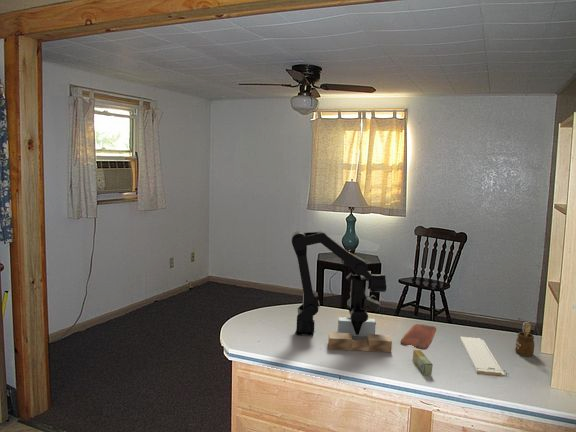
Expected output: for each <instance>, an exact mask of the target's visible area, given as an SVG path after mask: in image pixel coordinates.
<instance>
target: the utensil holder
mask: <svg viewBox="0 0 576 432" xmlns="http://www.w3.org/2000/svg"><path fill="white" fill-rule="evenodd" d="M531 326H532V324H530V322H528V321H524V322H523V324H522V331H519V332H518V333H517V338H516V340H515V347H514V348H515V349H514V350H515V353H516V354H517V355H519V356H523V357H533V355H534V351H535V340H534V339H535V336H534V334H532V333H531V328H532V327H531Z"/></svg>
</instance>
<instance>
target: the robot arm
mask: <svg viewBox="0 0 576 432" xmlns="http://www.w3.org/2000/svg"><path fill="white" fill-rule="evenodd" d="M316 244H317V245H318V244H321V245H323V246H324V247H325V248H327V249H328V250H329V251H331V252H332V253H333V254H334V255H335V256H337V257H338V258H340V260H342V261H343V262H344V263H345V264H346V265H347V266H348V268H350V270H351V271H352V272H353V273H354V274H353V273H352V272H350V273H349V274H348V275H346V276H345V278H346V280H347V281H350V291H349V296H350V297H349V299H347V308H348V309H347V310H348V313H349V315H350V317H349V318H351V322H352V325H353V328H354V331H355V334H356V335H359V332H360V329H361V326H362V323H363V322H365V321H367V320H368V319H369V314H368V312H367V311H366V310H367V309H369V310H371V311H373V312H375V313H378V312H379V308H380V306H381V302H380V301H378V300H377V297H376V296H375V295H373V294H372V295H370V296H367V293H366V291H367V290H369V292H370V293H386V292H387V280H386V275H385V274H384V273H380V274H376V273H375V274H373V273H371V271H370V270H369V265H368V263H367V262H366V261H365V259H363V258H362V257H360V256H357V255H355V254H353V253H352V252H351V251H350V252H349V250H346V249H345V248H344V247H343V246H341V244H339V243H338V242H336V241H335V240H334V239H332V237H330V236H329V235H327V233H326V232H325V231H323V230H322V231H321V230H320V231H319V230H318V231H313V232H311V231H307V232H303V231H301V230H298V231H295V232H294V233H292V235H291V245H292V247H293V250H294V252H295V255H296V257H297V264H298V268H299V269H298V270H299V273H300V279H301V280H300V281H301V286H302V304H301V305H299V306H298V307H297V315H296V327H295V328H296V329H295V335H296V336H297V335H298V336H313V335H314V333H315V321H316V320H314V316H316V315H317V313H318V312H319V308H320V307H321V305H320V300H319V294H318V291H315V292H314V290H313V285H312V280H311V273H310V268H309V262H308V258H307V254H308V252H307V251H308V246H312V245H316Z"/></svg>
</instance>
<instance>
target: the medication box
mask: <svg viewBox="0 0 576 432" xmlns="http://www.w3.org/2000/svg"><path fill="white" fill-rule="evenodd" d="M413 361H414V362H413ZM412 362H413V363H414V364H415V366H416V367H417V368H419V369H418V370H419V372H421V374H422V375H423V376H424V377H425V376H426V377H431V376H432V372H433V363H432V362H431V360H430V359H428V357H427V355H425V353H424V352H423V351H422V349H413V352H412Z"/></svg>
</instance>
